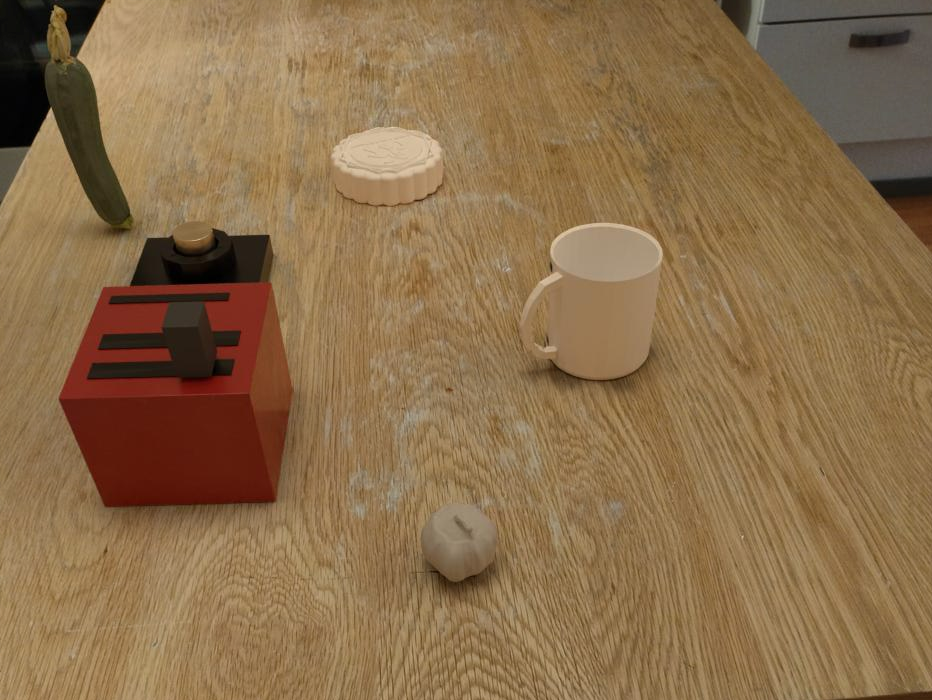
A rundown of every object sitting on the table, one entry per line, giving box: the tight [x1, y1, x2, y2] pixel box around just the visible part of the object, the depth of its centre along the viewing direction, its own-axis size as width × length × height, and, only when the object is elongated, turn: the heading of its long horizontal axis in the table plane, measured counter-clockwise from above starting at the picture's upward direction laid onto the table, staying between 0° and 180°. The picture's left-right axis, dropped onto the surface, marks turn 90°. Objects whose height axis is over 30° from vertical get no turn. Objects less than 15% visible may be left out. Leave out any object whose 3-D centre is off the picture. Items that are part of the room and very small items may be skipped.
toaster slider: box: [161, 301, 217, 378], centre depth 65 cm, size 2×3×4 cm
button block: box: [129, 227, 275, 286], centre depth 91 cm, size 12×10×4 cm
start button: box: [172, 220, 216, 257], centre depth 89 cm, size 4×4×2 cm
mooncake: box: [330, 125, 444, 207], centre depth 104 cm, size 12×12×4 cm
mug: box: [519, 222, 664, 381], centre depth 81 cm, size 12×9×9 cm
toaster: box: [58, 281, 294, 508], centre depth 74 cm, size 13×14×10 cm
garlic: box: [420, 501, 499, 583], centre depth 67 cm, size 6×5×5 cm
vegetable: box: [44, 4, 135, 230], centre depth 92 cm, size 4×4×20 cm
